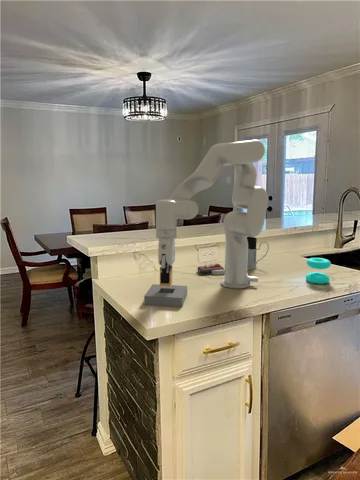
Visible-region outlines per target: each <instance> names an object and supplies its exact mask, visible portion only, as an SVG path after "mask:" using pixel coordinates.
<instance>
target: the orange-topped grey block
mask: <svg viewBox="0 0 360 480" xmlns="http://www.w3.org/2000/svg"><path fill="white" fill-rule="evenodd" d="M165 267H166V268H167V266H165ZM159 285H160V286H171V285H173V265H171V266H170V265H169V283H168V284H167V283H161V266H159Z"/></svg>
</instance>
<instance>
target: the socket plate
mask: <svg viewBox="0 0 360 480" xmlns="http://www.w3.org/2000/svg"><path fill="white" fill-rule="evenodd" d="M143 297H144V298H143V300H144V302H143V305H144V306H152V307H153V306H155V307H156V306H157V307H170V308H171V307H175V308H183V307H184V304H185V302H186V300H187V297H188V285H174V284H172V285H171V286H160V284H157V283H156V284H154V283H153V284H152V285H151V286H150V287H149V289H148V290H147V291H146V293H145V294H144V295H143Z"/></svg>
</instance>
